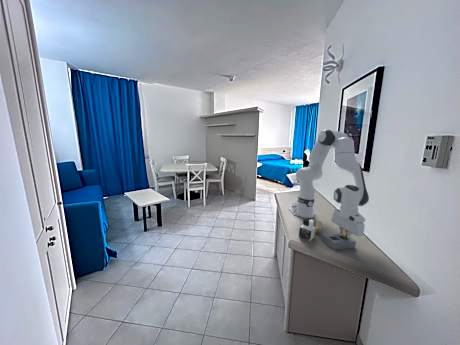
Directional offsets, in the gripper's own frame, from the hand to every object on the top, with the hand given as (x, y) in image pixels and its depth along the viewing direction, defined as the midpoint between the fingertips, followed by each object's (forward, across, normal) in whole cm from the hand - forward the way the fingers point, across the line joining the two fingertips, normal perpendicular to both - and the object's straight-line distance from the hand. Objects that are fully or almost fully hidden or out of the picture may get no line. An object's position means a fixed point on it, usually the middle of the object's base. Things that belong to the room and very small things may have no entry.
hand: (344, 235), depth 119 cm
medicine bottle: (+5, -10, -18) cm, 21 cm away
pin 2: (+4, 0, 0) cm, 4 cm away
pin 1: (+5, -14, -8) cm, 16 cm away
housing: (+5, 0, -4) cm, 6 cm away
